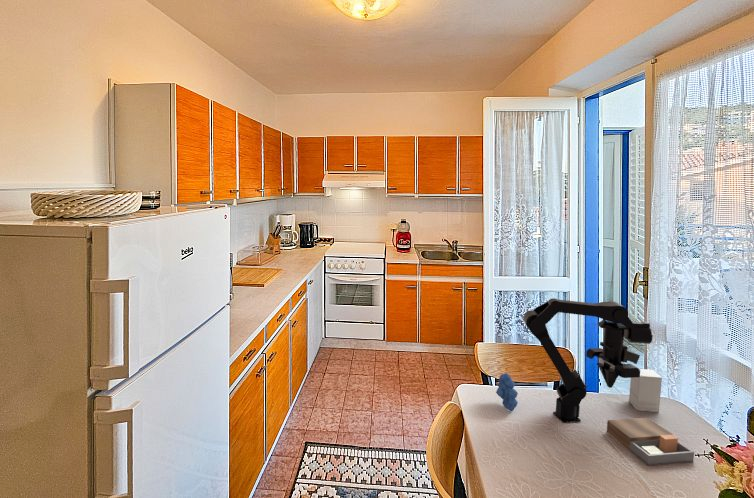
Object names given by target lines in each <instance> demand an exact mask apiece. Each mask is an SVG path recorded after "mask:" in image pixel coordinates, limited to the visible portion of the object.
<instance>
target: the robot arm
mask: <svg viewBox="0 0 754 498" xmlns="http://www.w3.org/2000/svg"><path fill="white" fill-rule="evenodd" d="M559 313H561V314H562V313H563V314H569V315H570V314H571V315H580V316H587V317H594V318H595V317H596V318H599V319H601V321H599V322H597V326H598V327H599V328H601V329H603V341H599V345H600V346H601V347H596V348H595V347H594V348H588V349H587V350H586V355H585V356H586V357H587V358H588V359H590V360H593V359H594V358H595V357H596V358H598V362H596V365H597V366H598V368H599V370H600V371H599V372H600V373H601V375H602V378H603V379H604V382H605V383H606V385H607V386H606V387H608V388H610V389H611V388H613V387H614V385H615V383H616V381H617V378H618V377H620V378H623V379H631V378H634V377H640V370H639V369H640V368H638V367H637V366H635V365H637V364H638V362H639V359H640V357H641V355H640V354H638V353H636V352H635V351H632V350H629V347H628V346H627V345H626V344H624V340H627V341H628V343H631V344H646V345H648V344H649V345H650V344H651V343H652V341H653V337H654V335H653V334H652V333H653V332H652V329H651V324H650V323H649V322H647V321H639V322H638V321H633V320H631V318H630V317H629V312H628V309H627V308H626V307H625V306H624V305H622V304H620V303H619V302H617V301H611V300H610V301H601V302H593V303H592V302H585V301H576V300H566V299H558V298H550V299H549V300H547V301H546V302H544V303H542V304H540V305H538V306H537V307H535V308H534V309H532V310H527V311H526V312H525V313H524V314H523V318H522V319H523V322H524V324H525V326H526V328H527V330H529V331H530V333H531V334H532V335H533V336H534V338H536V339H537V341H539V342H540V345H541V346H542V347H543V349H544V350H545V352H546V354H547V356H548V357H549V359H550V361H551V362H552V364H553V366H554V367H555V369H556V370H557V372H558V374H559V378H560V381H561V384H559V386H557V387H556V388H555V389H556V390H555V391H556V394H557V395H558V397H556V399H555V401H556V403H555V404H556V405H555V411H552V414H553V416H555V417H556V418H557V419H558V420H560V421H561V422H562V423H579V422H581V421H582V420H581V419H580V418H579V417H580V407H581V406H580V404H581V402H582V400H583V399H585V397H586V396H587V393H588V392H587V389H588V388H587V387H588V386H587V385H586V383H585V382H584V380H583V379H582V377H581V375H580V373H579V372H578V371H577V370H576V369H574V370H573V371H572V369H570V367H569V366H568V365H567V363H566V361H565V360H564V358H563V356H562V355H561V353H560V352H559V350H558V348H557V346H556V345H555V343H554V341H553V340H552V338H551V337H550V335H549V331H548V328H547V325H546V324H548V323H549V322H550V321H551V320H552V319H553V318H554V317H555V316H556V315H557V314H559ZM628 362H631V363H633V364H635V365H633V364H631V363H628ZM586 388H587V389H586Z"/></svg>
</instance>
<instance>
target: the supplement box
mask: <svg viewBox="0 0 754 498" xmlns="http://www.w3.org/2000/svg"><path fill="white" fill-rule="evenodd" d="M638 369H639V370H640V377H634V378H630V380H629V381H630V382H629V395H628V396H629V397H628V401H629V403H630V404H631V405H632V406H633V407H634V409H635V410H636V411H643V412H652V413H653V412H654V413H660V405H661V392H662V383H663V382H662V380H663V377H662V376H661V375H659V374H658V373H657V372H656V371H655V370H654V369H648V368H647V369H645V368H643V369H642V368H638Z"/></svg>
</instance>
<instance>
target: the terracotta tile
mask: <svg viewBox="0 0 754 498" xmlns="http://www.w3.org/2000/svg"><path fill="white" fill-rule="evenodd" d="M678 442H679V438H678V437H676V436H675V435H674V434H673V435H661V436H660V443H659V449H661V450H662V451H663V452H674V451H677V444H678Z"/></svg>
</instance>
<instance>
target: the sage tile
mask: <svg viewBox="0 0 754 498" xmlns="http://www.w3.org/2000/svg"><path fill="white" fill-rule="evenodd" d="M641 448H642V449H643V450H644V451H646V452H647V453H648V454H661V453H663V452H662V451H660V450H659V449H658V448H656V447H655V446H641Z"/></svg>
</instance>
